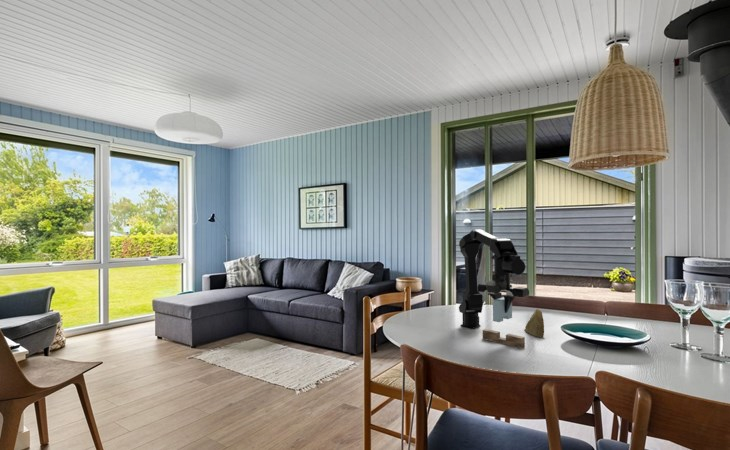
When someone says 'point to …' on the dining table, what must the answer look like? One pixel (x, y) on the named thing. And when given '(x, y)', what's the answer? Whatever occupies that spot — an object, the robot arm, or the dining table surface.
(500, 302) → the blue-grey rectangular slab
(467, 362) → the dining table surface
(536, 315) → the rock
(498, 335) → the walnut rail
